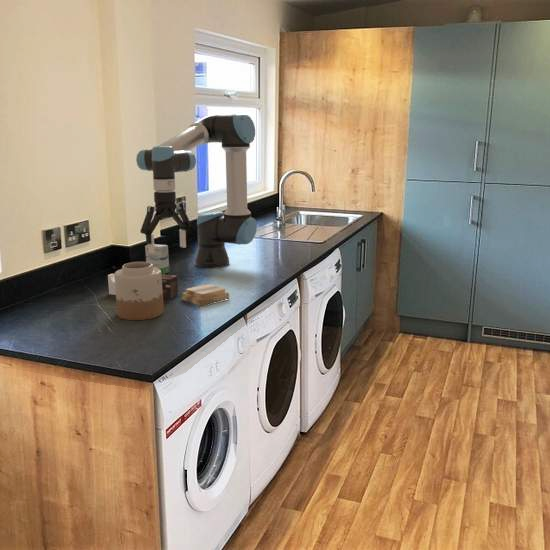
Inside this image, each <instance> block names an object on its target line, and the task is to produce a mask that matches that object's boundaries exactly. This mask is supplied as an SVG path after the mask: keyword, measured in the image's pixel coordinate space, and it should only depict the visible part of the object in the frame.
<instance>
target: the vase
mask: <svg viewBox="0 0 550 550" xmlns="http://www.w3.org/2000/svg"><path fill="white" fill-rule="evenodd" d="M113 274H114V279H115V292H116V295H115V302H116V303H115V304H116V313H117V315H116V316H117V317H118V318H120V319H122V320H127V321H146V320H151V319H155V318H158V317H160V316H162V315H163V314H164V307H165V306H164V298H163V289H162V275H163V274H162V273H161V270H160V269H159V268H156V267H153V264H152V263H149V262H146V261H132V262H128V263H124V264H123V265H122V267H121V269H117V270H116V271H115V272H114V273H113Z"/></svg>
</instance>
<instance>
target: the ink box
mask: <svg viewBox="0 0 550 550" xmlns="http://www.w3.org/2000/svg"><path fill="white" fill-rule="evenodd" d="M144 248H145V262H149V263H152V264H153V267H156V268H159V269H160V270H161V273H162V275H163V274H165V275H167V274H168V273H170V261H169V259H170V258H169V245H167V244H158V243H157V244H156V243H154V250H155V253H149V250H148V244H146V245H144Z"/></svg>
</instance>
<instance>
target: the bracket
mask: <svg viewBox="0 0 550 550" xmlns="http://www.w3.org/2000/svg"><path fill="white" fill-rule="evenodd" d="M114 274H115V273H110V274H108V275H107V282H108V284H107V285H108V293H109V295H112V296H113V295H114V296H116V292H115V279H114Z"/></svg>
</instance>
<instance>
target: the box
mask: <svg viewBox="0 0 550 550" xmlns="http://www.w3.org/2000/svg"><path fill="white" fill-rule="evenodd" d="M162 289H163V299H172V298H173V297H176V296H177V295H178V294H179V286H178V275H173V274H162Z"/></svg>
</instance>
